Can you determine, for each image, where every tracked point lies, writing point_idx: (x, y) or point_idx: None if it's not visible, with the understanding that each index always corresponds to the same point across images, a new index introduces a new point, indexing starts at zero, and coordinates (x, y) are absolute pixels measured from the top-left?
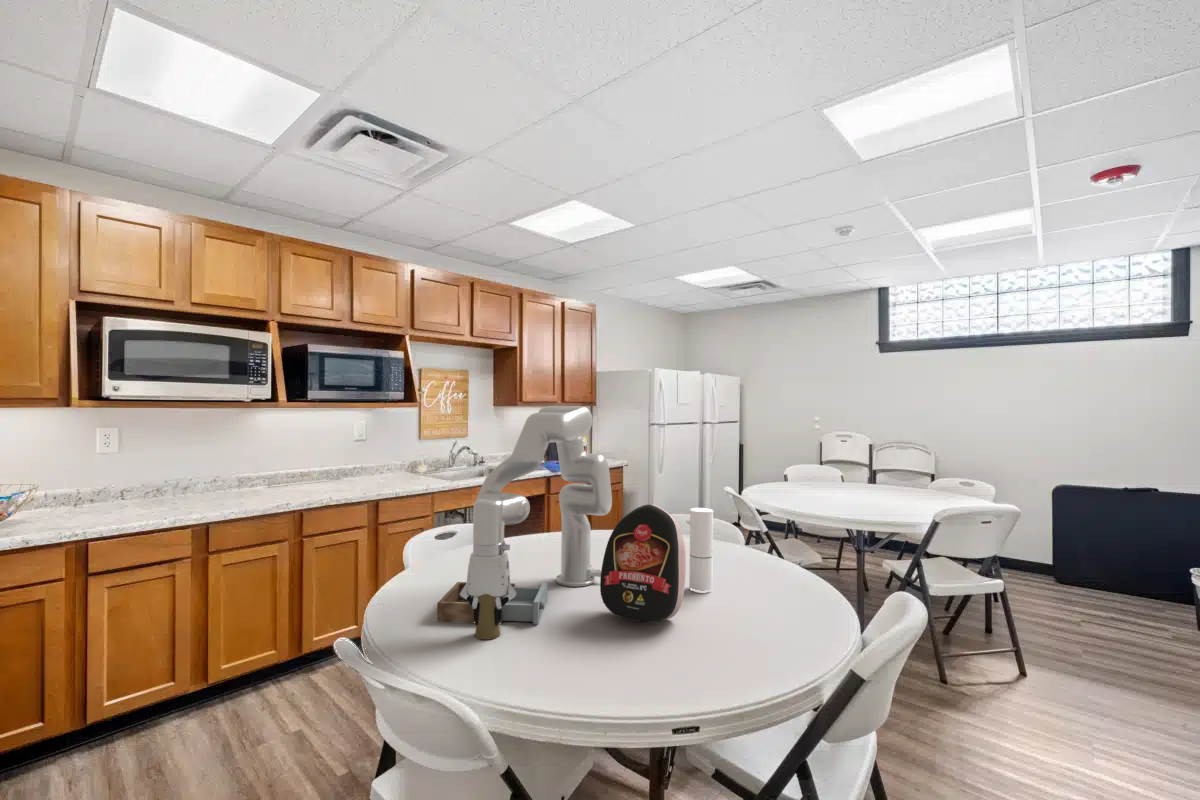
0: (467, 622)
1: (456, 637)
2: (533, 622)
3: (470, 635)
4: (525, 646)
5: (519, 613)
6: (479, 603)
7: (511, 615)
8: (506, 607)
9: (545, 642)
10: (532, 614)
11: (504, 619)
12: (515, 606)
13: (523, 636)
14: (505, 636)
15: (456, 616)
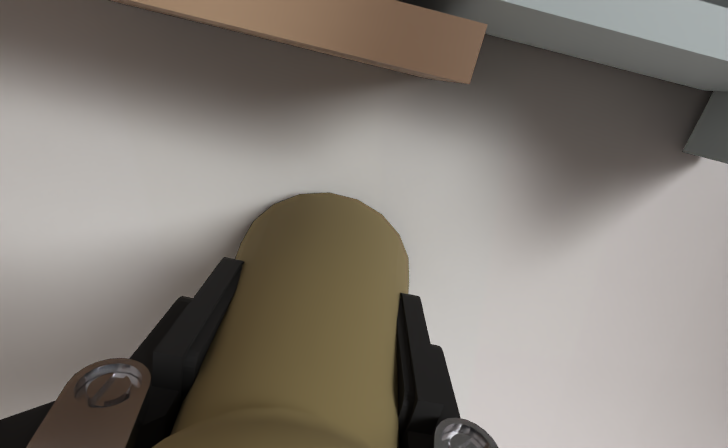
0: (118, 2)
1: (117, 273)
2: (696, 154)
3: (205, 255)
4: (537, 427)
5: (633, 57)
6: (155, 437)
7: (541, 41)
8: (520, 17)
9: (659, 400)
10: None
11: None
12: (640, 45)
13: (555, 315)
14: (441, 300)
15: None
